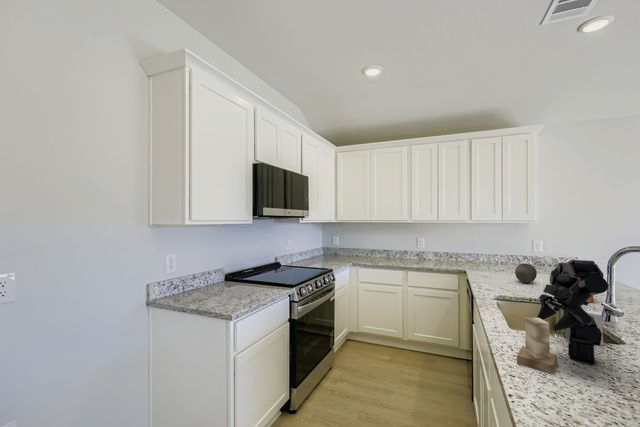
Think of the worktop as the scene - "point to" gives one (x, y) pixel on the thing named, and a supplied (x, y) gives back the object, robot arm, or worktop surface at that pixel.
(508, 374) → the worktop surface
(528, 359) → the walnut block
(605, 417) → the worktop surface
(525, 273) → the cantaloupe
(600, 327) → the skincare box
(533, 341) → the ash block
